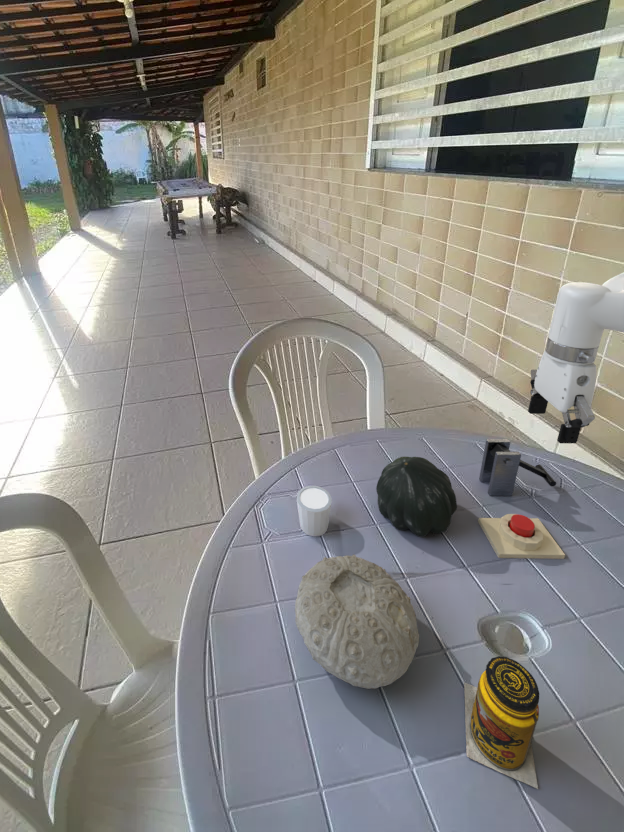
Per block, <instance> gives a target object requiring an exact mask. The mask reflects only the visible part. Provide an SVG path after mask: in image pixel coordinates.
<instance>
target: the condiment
mask: <svg viewBox="0 0 624 832" xmlns="http://www.w3.org/2000/svg"><path fill="white" fill-rule="evenodd" d="M463 687H464V688H463V689H464V720H465V721H464V722H465V724H464V725H465V743H466V744H465V749H466V750H465V753H466V757H467V758H469V759H471V760H473V761H475V762H477V763H479V764H482V765H483V766H485V767H487V768H490V769H492V770H494V771H496V772H497V773H501V774H503V775H505V776H507V777H510V778H511V779H514V780H516V781H518V782H522V783H524V784H525V785H527V786H530V787H532V788H534V789H536V790H539V786H538V780H537V772H536V764H535V759H534V751H533V744H532V739H533V737H534V733H535V730H536V727H537V724H538V721H539V717H540V708H539V703H540V690H539V686H538V683H537V681H536V679H535V678H534V676H533V674H532V673H530V672H529V670H527V668H525V666H523V665H522V664H521V663H519V662H518V661H517V660H515V659H512V658H510V657H508V656H500V655H498V656H495V657H492V658H490V660H489V661H487V664H486V667H485V670H484V671H482V673H481V674H480V677H479V680H478V683H477V686H474V685H472V684H470V683H467V682H463Z"/></svg>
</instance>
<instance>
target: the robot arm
mask: <svg viewBox="0 0 624 832" xmlns="http://www.w3.org/2000/svg"><path fill="white" fill-rule="evenodd" d="M604 330H610V331H615V332H619V333H624V271H623V272H621V273H618V274H617V275H615V276H612V277H611V278H609V279H608V280H606V281H604V282H603V283H602V284H597V283H593V282H584V281H574V282H572V281H571V282H568V283H565V284H563V285H562V286H561V287H560V288H559V290H558V293H557V297H556V301H555V305H554V310H553V314H552V318H551V321H550V327H549V330H548V334H547V339H546V344H545V348H544V351H543V353H542V355H541V357H540V360H539V363H538V367H537V369H531V370H530V379H531V380H530V383H529V384H530V386H531V389H530V395H531V397H530V401H529V405H528V408H527V412H528V413H529V414H530V415H542V414H543V415H544V414H546V412H547V408H548V404H550V405H552V406H553V408H555V409H556V410H557V411H559V412H561V414H562V419H563V423H561V425H560V427H559V431H558V435H557V439H556V441H557V443H559V444H576V443H578V439H579V437H580V433H581V430H582V428H585V427H588V426H590V424H591V423H592V422H593V421H595V419H596V416H595V413H594V412H593V410H592V409H591V407H592V403H593V399H594V394H595V389H596V382H597V364H595V362H596V358H597V355H598V351H599V347H600V345H601V341H602V337H603V333H604ZM572 407H573V409H571V408H572ZM570 414H574V417H575V418H574V419H572V418H571V415H570Z"/></svg>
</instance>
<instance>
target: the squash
mask: <svg viewBox="0 0 624 832" xmlns="http://www.w3.org/2000/svg"><path fill="white" fill-rule="evenodd" d="M375 490H376V493H377V507H378V512H379V513H380V515H381V516H383V517H384V518H386V519H388V520H389V521H390V523H391V524H392V527H394V528H395V529H397V530H399V531H401V530H402V531H404V530H405V531H406V530H410V532H411V533H412V534H414V535H415V536H417V537H420V538H424V537H426V536H427V535H428V534H429V533H430V532H431V533H434V534H438V535H439V534H442V533H444V532H445V531H447V530H448V528H449V527H450V525H451V522H452V517H453V515H454V513H455V512H456V510H457V509H458V501H457V497H456V493H455V491H454V489H453V485H452V482H451V480H450V477H449V476H448V474H447V473H446V472H444V471H443V470H442V469H439V468H438V467H437V466H436V465H435V464H434V463H432V462H431V461H430V460H428V459H427V458H424V457H420V456H400V457H398V458H396V459H394V460H392V461H391V462H389V463H387V464H386V465H385V466H384V467H383V469H382V471H381V475H380V476H379V478H378V480H377V483H376V487H375Z"/></svg>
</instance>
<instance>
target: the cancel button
mask: <svg viewBox="0 0 624 832" xmlns="http://www.w3.org/2000/svg"><path fill="white" fill-rule="evenodd" d="M515 514H516V515H513V516H512V517H511V521H510V529H511V530H512V531H513V532H514V533H515V534H517V535H519V536H521V537H526V538H528V537H531V536H532V535H533V532H534V528H535V525H534V523H533V521H532V520H530V519H529V518H530V517H528V516H526V515H523V514H518V513H515Z"/></svg>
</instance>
